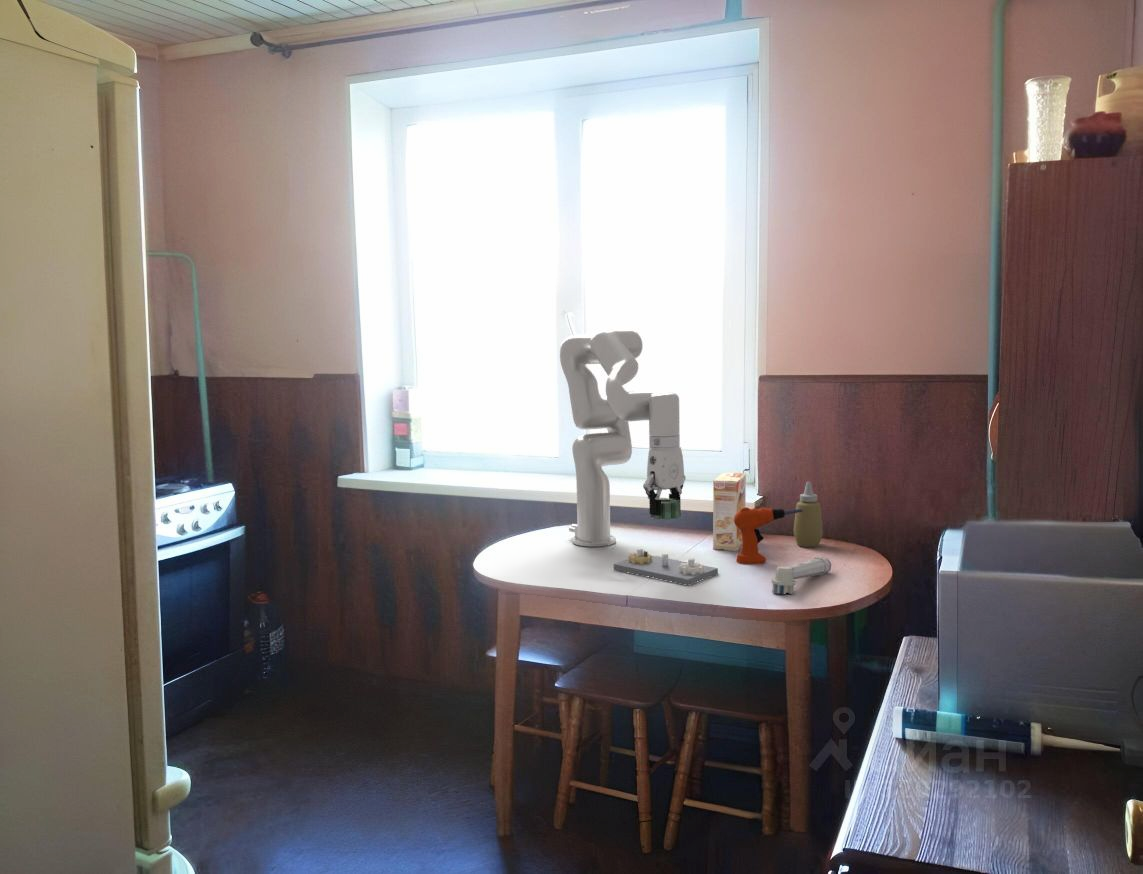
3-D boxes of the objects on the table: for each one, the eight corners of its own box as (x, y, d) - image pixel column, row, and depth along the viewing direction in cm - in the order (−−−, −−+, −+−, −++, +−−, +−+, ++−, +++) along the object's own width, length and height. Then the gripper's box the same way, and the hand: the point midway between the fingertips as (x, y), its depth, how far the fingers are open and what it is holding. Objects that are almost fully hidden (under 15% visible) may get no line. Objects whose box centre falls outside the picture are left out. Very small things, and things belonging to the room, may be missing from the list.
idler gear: (668, 520, 217) (668, 504, 217) (644, 517, 222) (644, 501, 222) (686, 515, 223) (686, 500, 222) (662, 512, 228) (661, 496, 227)
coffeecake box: (737, 551, 244) (737, 481, 241) (712, 549, 246) (711, 480, 244) (746, 539, 258) (746, 472, 255) (722, 537, 260) (722, 471, 258)
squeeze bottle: (791, 547, 247) (791, 483, 244) (795, 541, 254) (795, 479, 252) (821, 549, 243) (822, 485, 241) (824, 543, 251) (825, 480, 249)
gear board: (613, 569, 227) (613, 552, 227) (644, 559, 237) (644, 543, 236) (688, 585, 212) (687, 567, 211) (717, 574, 221) (717, 556, 221)
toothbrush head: (834, 558, 220) (789, 566, 201) (832, 585, 220) (787, 595, 201) (814, 555, 223) (768, 562, 204) (812, 581, 223) (766, 591, 204)
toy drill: (810, 557, 230) (804, 501, 228) (739, 567, 230) (731, 511, 228) (805, 552, 235) (798, 497, 233) (735, 562, 235) (728, 507, 233)
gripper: (655, 447, 211) (656, 520, 213) (696, 439, 224) (697, 508, 226) (630, 445, 216) (631, 516, 218) (672, 438, 229) (673, 505, 231)
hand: (665, 511), depth 222 cm, fingers closed on idler gear, 7 cm apart
